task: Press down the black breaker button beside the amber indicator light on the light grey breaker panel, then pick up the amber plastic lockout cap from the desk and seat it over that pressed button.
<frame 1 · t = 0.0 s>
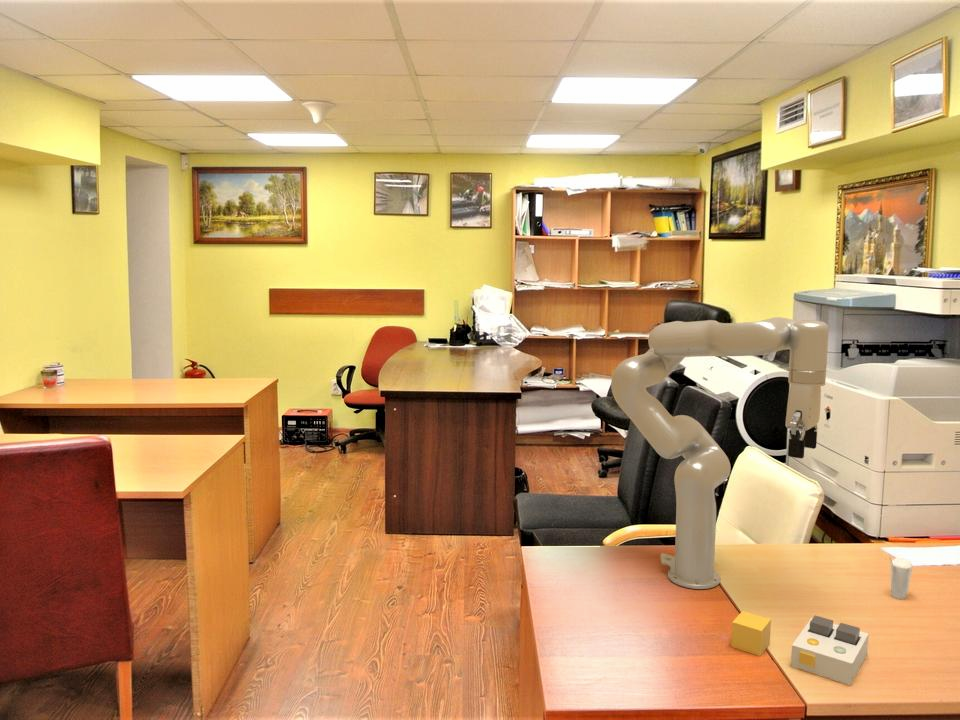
hand: (802, 452, 170), 37 cm above the table, tool pointing down, fingers open, 9 cm apart
milkshake: (897, 597, 180), on the table
lockout cap: (750, 645, 159), on the table
breaker panel: (829, 660, 153), on the table
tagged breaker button: (821, 630, 156), point 5 cm above the table, slide at 0.0 cm
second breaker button: (847, 638, 153), point 5 cm above the table, slide at 0.0 cm
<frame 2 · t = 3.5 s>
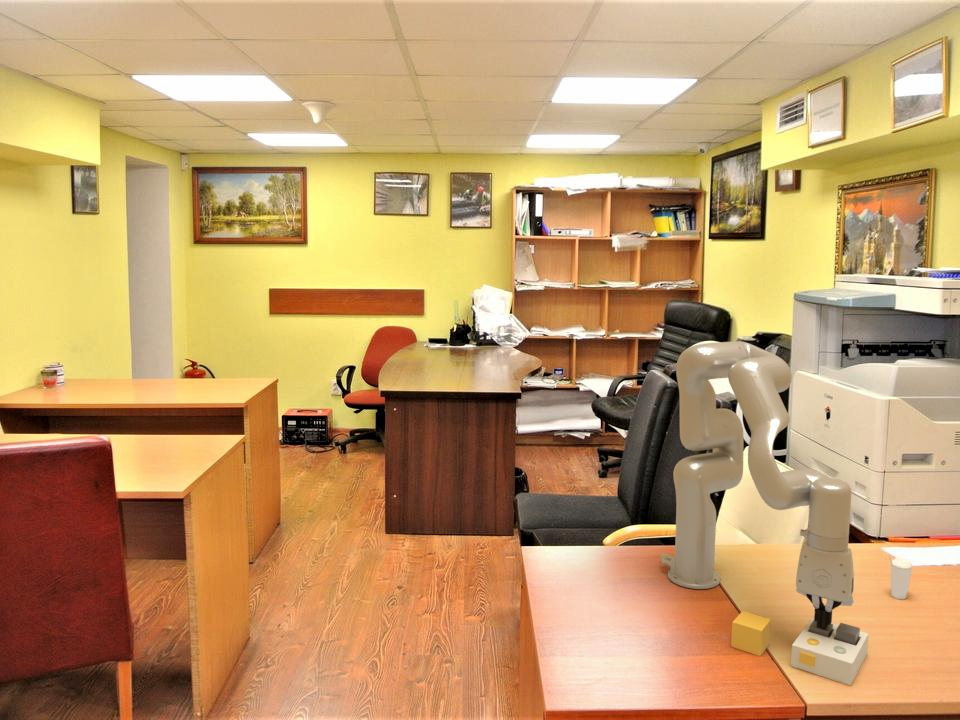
hand: (822, 625, 156), 6 cm above the table, tool pointing down, fingers closed
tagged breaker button: (820, 634, 156), point 4 cm above the table, slide at 0.9 cm, touching gripper
everything else where it was.
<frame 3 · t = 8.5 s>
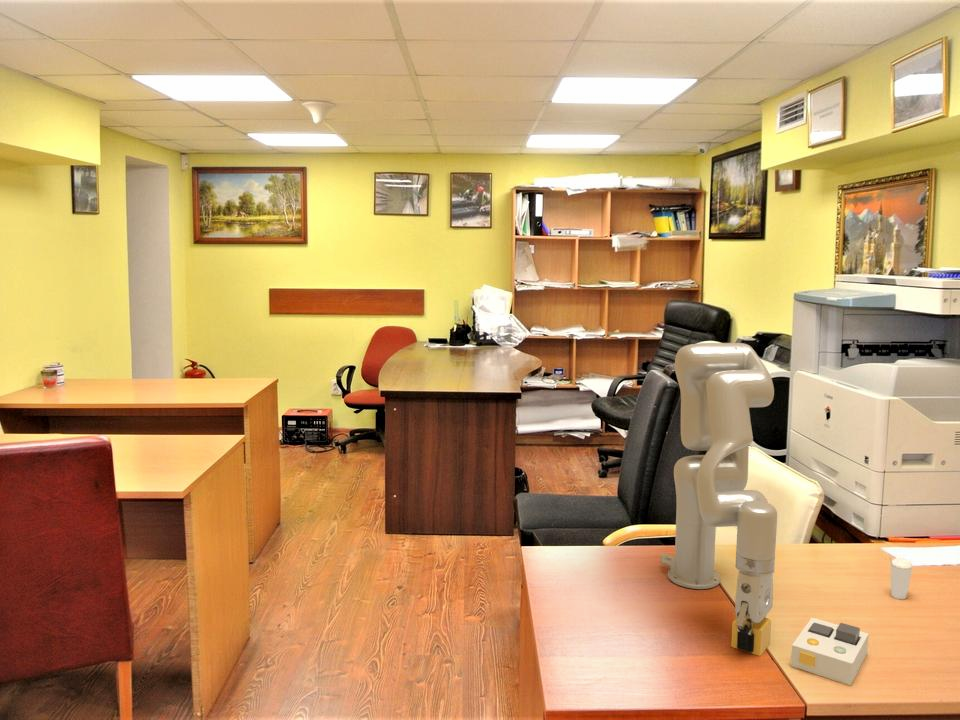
hand: (750, 642, 159), 1 cm above the table, tool pointing down, fingers closed on lockout cap, 6 cm apart
lockout cap: (750, 645, 159), on the table, touching gripper
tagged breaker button: (820, 637, 157), point 3 cm above the table, slide at 1.6 cm
everything else where it was.
when the fingers open (7 cm above the table, at t = 13.2 s): lockout cap drops 1 cm, resting on breaker panel.
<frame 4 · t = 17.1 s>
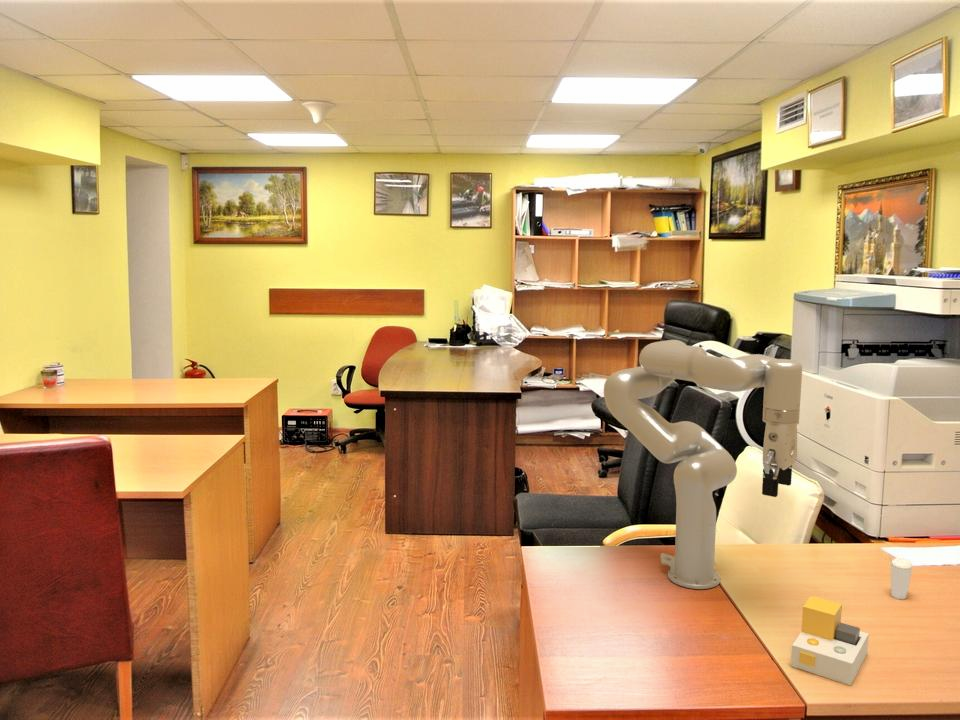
hand: (776, 489, 171), 28 cm above the table, tool pointing down, fingers open, 9 cm apart
lockout cap: (820, 630, 156), point 4 cm above the table, touching breaker panel
everything else where it was.
at the end: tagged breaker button slide at 1.6 cm; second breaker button slide at 0.0 cm; lockout cap 0.0 cm from the target spot, point 4.5 cm above the table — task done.
